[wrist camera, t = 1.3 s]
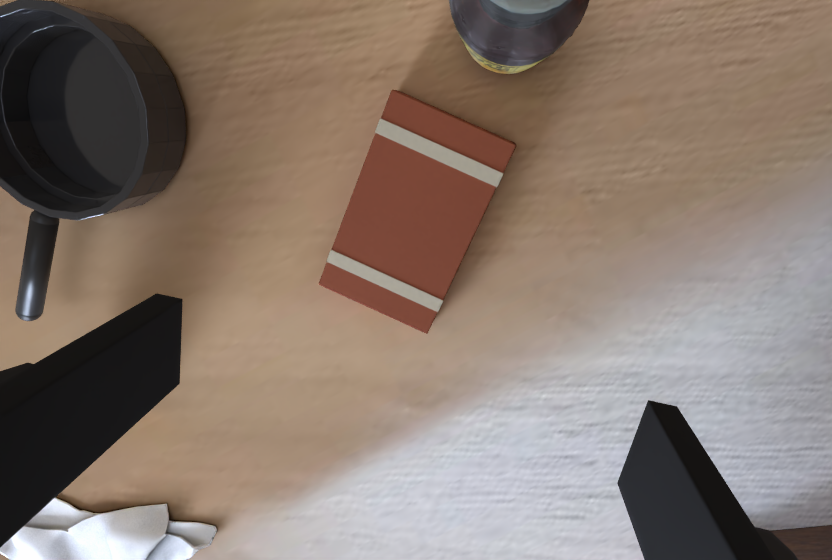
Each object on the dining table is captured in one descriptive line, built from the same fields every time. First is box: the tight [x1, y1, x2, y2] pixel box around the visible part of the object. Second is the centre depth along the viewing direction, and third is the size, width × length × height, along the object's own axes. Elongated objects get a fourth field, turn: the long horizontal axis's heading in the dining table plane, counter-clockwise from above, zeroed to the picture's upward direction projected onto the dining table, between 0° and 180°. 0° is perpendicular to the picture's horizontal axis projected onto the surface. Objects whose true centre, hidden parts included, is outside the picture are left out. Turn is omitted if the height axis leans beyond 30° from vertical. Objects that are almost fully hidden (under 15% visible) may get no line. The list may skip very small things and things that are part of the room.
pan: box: [0, 0, 186, 220], centre depth 38 cm, size 14×14×5 cm
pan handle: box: [15, 210, 59, 321], centre depth 41 cm, size 10×2×2 cm, turn 157°
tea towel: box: [319, 90, 516, 334], centre depth 38 cm, size 9×15×2 cm, turn 157°
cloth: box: [0, 498, 217, 560], centre depth 54 cm, size 26×14×2 cm, turn 88°
